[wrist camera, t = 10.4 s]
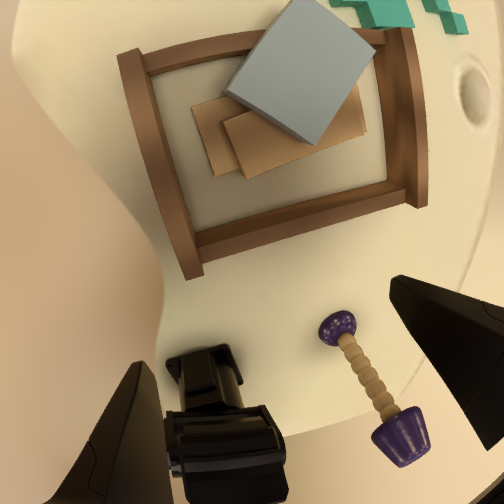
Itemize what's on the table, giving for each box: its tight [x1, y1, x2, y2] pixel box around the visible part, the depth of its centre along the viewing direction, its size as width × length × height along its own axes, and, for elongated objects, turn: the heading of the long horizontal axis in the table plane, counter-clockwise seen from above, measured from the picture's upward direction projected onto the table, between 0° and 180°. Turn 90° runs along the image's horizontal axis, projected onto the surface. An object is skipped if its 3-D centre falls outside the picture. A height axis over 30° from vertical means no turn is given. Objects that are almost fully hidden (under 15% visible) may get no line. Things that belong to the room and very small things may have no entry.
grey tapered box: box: [222, 0, 376, 146], centre depth 14 cm, size 2×6×8 cm
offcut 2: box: [220, 89, 364, 179], centre depth 18 cm, size 4×9×2 cm, turn 111°
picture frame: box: [116, 27, 428, 281], centre depth 17 cm, size 14×19×4 cm
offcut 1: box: [191, 82, 367, 177], centre depth 19 cm, size 5×12×2 cm, turn 106°
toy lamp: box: [319, 311, 431, 468], centre depth 22 cm, size 5×5×17 cm
